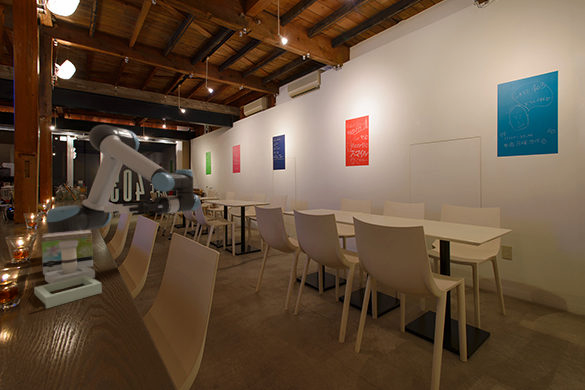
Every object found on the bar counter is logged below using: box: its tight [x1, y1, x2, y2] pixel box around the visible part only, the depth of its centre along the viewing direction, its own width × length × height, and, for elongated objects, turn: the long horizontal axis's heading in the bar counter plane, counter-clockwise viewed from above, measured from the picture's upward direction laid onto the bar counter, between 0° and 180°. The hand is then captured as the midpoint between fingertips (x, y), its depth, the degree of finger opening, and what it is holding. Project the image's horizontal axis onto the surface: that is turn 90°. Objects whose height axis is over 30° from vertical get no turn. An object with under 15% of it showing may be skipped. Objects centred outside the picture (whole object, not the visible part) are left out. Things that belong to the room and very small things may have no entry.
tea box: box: [41, 230, 94, 276], centre depth 108 cm, size 15×10×15 cm, turn 129°
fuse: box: [59, 240, 79, 276], centre depth 95 cm, size 5×5×13 cm
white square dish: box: [44, 265, 96, 284], centre depth 95 cm, size 11×11×4 cm
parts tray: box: [33, 275, 103, 310], centre depth 83 cm, size 13×13×3 cm
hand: (111, 209), depth 104 cm, fingers open, 13 cm apart
